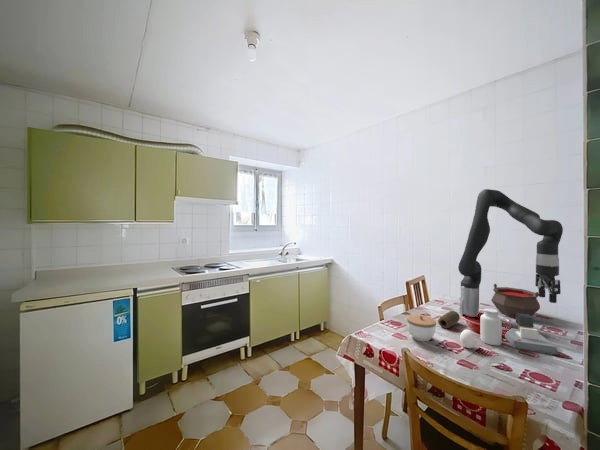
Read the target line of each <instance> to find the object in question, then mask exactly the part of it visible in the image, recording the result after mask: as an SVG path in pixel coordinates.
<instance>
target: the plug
mask: <svg viewBox="0 0 600 450" xmlns="http://www.w3.org/2000/svg"><path fill="white" fill-rule="evenodd" d="M515 323H516V324H517V329H520V327H522V328H529V329H534V317H533V316H530V315H529V314H521V313H516V317H515Z"/></svg>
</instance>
